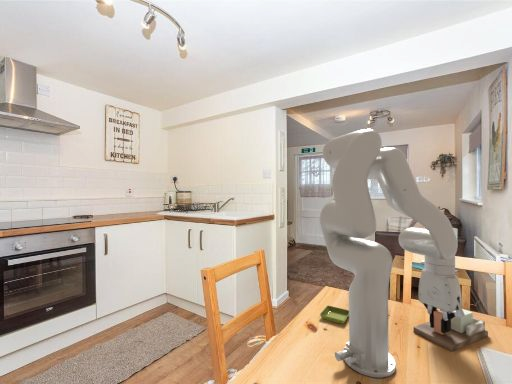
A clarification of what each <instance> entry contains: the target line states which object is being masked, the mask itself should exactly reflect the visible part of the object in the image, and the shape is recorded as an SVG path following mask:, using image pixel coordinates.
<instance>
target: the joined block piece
mask: <svg viewBox="0 0 512 384" xmlns="http://www.w3.org/2000/svg"><path fill="white" fill-rule="evenodd" d="M462 310H463V312H464V314H465V316H464V317H454V318H453V319H451V329H453V330H455V331H457V332H460V333H463V332H465V331H466V326H468V325H471V324H473V317H474V316H473V315H474V313H473V311H470V310H467V309H464V308H462ZM453 312H456V310H455V311H453ZM441 319H443V310H441V309H437V310H436V311H434V331H435V332H437V333H440V334H442V335H443V334H446V333H442V332H441Z"/></svg>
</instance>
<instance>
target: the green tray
mask: <svg viewBox="0 0 512 384" xmlns="http://www.w3.org/2000/svg"><path fill="white" fill-rule="evenodd" d="M329 311H331V312H329ZM328 312H329V314H328ZM319 316H320V317H321V318H322V319H323V320H325V319H326V321H330V322H334V323H337V324H341V325H343V324H344V323H345V322H346V320H347V318H349V309H345V308H341V307H337V306H332V305H326V306H325V307H324V308H323V310H322V311H321V312H320V313H319Z"/></svg>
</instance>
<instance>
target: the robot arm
mask: <svg viewBox="0 0 512 384" xmlns="http://www.w3.org/2000/svg"><path fill="white" fill-rule="evenodd" d="M382 141H383V140H382V137H381V135H380V133H379V132H378V131H376V130H374V129H371V128H367V129H365V128H364V129H360V130H356V131H352V132H349V133H346V134H343V135H339V136H337V137H334V138H331V139H329V140H328V141H327V142H325V144H324V146H323V148H322V158H323V160H324V162H325V163H326V164H327V165H328V166H329V167H331V168H332V169H334V172H333V175H332V179H331V183H332V184H331V187H332V195H333V199H334V200H331V201H329V202H327V203H326V204H325V205H323V207H322V209H321V212H320V216H319V221H320V222H319V223H320V229H321V232H322V235H323V240H324V243H325V247H326V249H327V250H326V251H327V253H328V256H329V258H330V260H331V261H332V263H333V264H334V265H335V266H337V267H339V268H340V269H343V270H345V271H348V272H350V273H353V274H354V278H353V280H352V281H351V283H350V285H349V289H348V310H349V315H348V341H347V342H345V347H344V348H343V350H339V351H336V352H334V357H335V359H336V361H338V362H340V361H344V362H345V363H346V364H347V365H348V367H350V368H351V369H352V370H354V371H356V372H357V373H359V374H362V375H363V376H368V377H371V378H387V377H389V376H392V375H393V374H394V373H395V372H396V367H397V364H396V360H395V358H394V357H393V356H392V355H391V353H390V351H389V349H390V346H389V345H390V343H389V337H390V335H389V333H390V332H389V287H390V278H391V273H392V269H393V256H392V254H391V253H392V252H391V251H389V249H388V248H387V247H386V246H384V245H383V244H381V243H379V242H377V241H374V240H369V239H368V238H370V237H372V236H373V235H374V233H376V229H377V218H376V214H375V210H374V207H373V206H374V205H373V202H372V198H371V194H370V190H369V182H368V181H369V180H376V181H377V182H378V184H379V187H380V190H381V191H382V194H383V195H384V199H385V200H386V201H385V202H386V203H387V205H388V207H390V208H391V209H393V210H395V211H396V212H398V213H400V214H402V215H405V216H407V217H408V218H411V219H412V220H414V221H415V222H417V223H418V224H420V225H421V226H422V227H423V228H422V227H421V228H420V227H407V228H405V229H403V230H402V231H401V232H400V233H399V235H398V244H399V246H400V247H401V249H403V250H405V251H406V252H409V253H412V254H416V255H420V256H424V260H421V265H422V266H423V268H424V269H421V273H420V277H419V283H418V297H417V299H418V301H419V302H420V303H421V304H422V305H424V308H425V309H426V310H427V314H429V322H430V327H431V328H434V311H436V310H440V309H441V310H443V319H441V332H442V333H447V332H449V331H450V330H451V319H453V318H454V317H464V316H465V314H464V312H463V310H462V309H463V308H462V305H463V304H462V302H463V301H462V289H461V285H460V284H461V283H460V281H459V277H458V275H456V254H457V251H458V240H457V235H456V233H455V230H454V228H453V225H452V223H451V221H450V219H449V218H448V217H447V215H446V214H445V213H444V212H443V211H442V210H441V209H440V208H438V206H436V205H435V204H434V203H433V202H432V201H430V200H429V199H427V198H426V197H425V196H423V195H422V193H421V191H420V190H419V187H418V184H417V182H416V180H415V177H414V174H413V173H412V170H411V167H410V165H409V162H408V160H407V157H406V155H405V153H404V152H403V151H402V150H401V149H400V148H397V147H383V146H382V145H383V144H382ZM382 147H383V148H382ZM455 310H456V312H453V311H455Z"/></svg>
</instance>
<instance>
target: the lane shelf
mask: <svg viewBox="0 0 512 384" xmlns="http://www.w3.org/2000/svg"><path fill="white" fill-rule="evenodd" d="M413 333H415V334H417V335H419V336H421V337H423V338H426V339H427V340H429V341H430V342H432V343H435V344H437V345H439V346H441V347H442V348H444V349H446V350H447V351H450V352H454V351H456V350H458V349H461V348H463V347H465V346H468V345H471V344H474V343H475V342H478V341H479V340H482V339H485V338H487V337H489V331H488V330H487V329H486V323H485V321H483V320H481V319H478V318H475V317H474V316H473V324H471V325H468V326H466V331H465V332H463V333H460V332H457V331H455V330H453V329H451V330H450V331H449V332H447V333H446V334H443V335H442V334H440V333H437V332H435V331H434V328H431V327H430V321H427V322H424V323H421V324H418V325H416V326H413Z"/></svg>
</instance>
